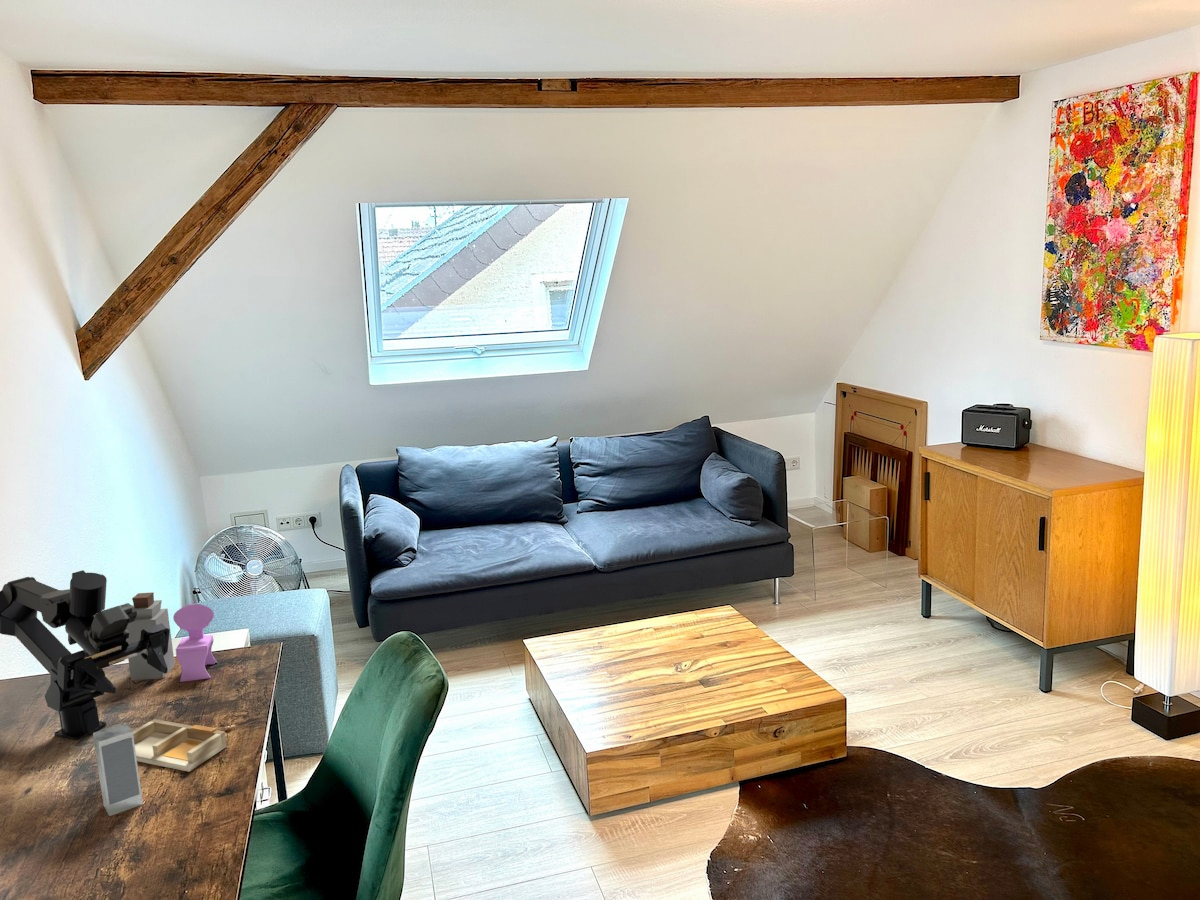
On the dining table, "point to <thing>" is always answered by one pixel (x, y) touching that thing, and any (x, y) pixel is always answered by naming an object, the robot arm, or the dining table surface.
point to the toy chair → (194, 641)
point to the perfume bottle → (146, 617)
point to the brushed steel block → (118, 768)
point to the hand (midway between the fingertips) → (141, 680)
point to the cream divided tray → (177, 744)
